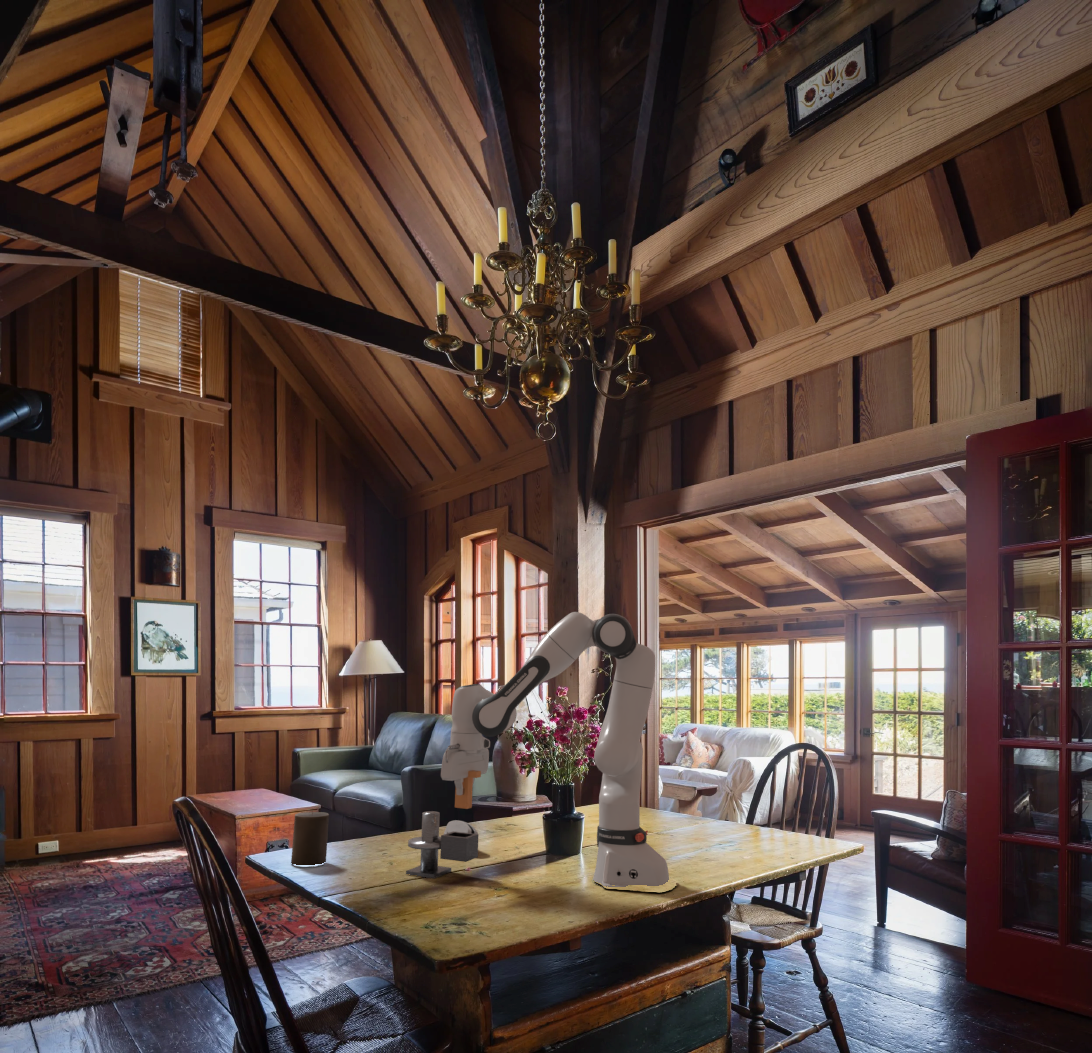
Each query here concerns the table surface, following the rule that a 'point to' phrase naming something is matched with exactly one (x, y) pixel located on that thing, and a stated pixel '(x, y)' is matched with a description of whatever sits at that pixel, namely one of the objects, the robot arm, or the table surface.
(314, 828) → the pillar candle
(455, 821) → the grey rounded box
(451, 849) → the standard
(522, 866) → the table surface
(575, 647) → the robot arm
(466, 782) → the orange t-shaped block
